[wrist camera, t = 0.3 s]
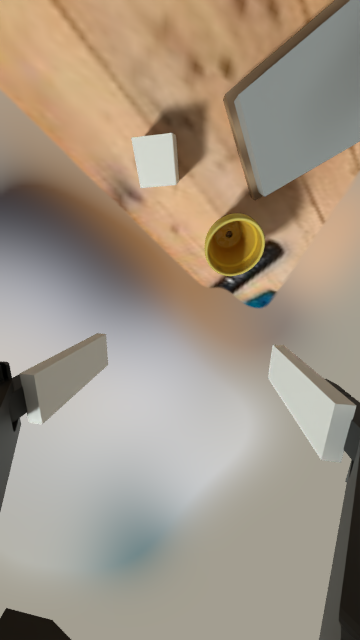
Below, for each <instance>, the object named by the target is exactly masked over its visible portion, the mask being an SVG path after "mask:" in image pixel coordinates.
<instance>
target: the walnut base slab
mask: <svg viewBox="0 0 360 640" xmlns="http://www.w3.org/2000/svg"><path fill="white" fill-rule="evenodd" d="M349 1H350V0H335V1H334V2H333V3H331V4H330V5H329V6H328V7H327V8H326V9H324V10H323V11H322V12H321V13H320V14H319V15H317V16H316V17H315V18H314V19H313V20H312V21H310V22H309V23H308V24H307V25H306V26H305V27H303V28H302V29H301V30H300V31H299V32H298V33H296V34H295V35H294V36H293V37H292V38H291V39H289V40H288V41H287V42H286V43H285V44H284V45H282V46H281V47H280V48H279V49H278V50H277V51H275V52H274V53H273V54H272V55H271V56H270V57H268V58H267V59H266V60H265V61H264V62H263V63H261V64H260V65H259V66H258V67H257V68H256V69H254V70H253V71H252V72H251V73H250V74H249V75H247V76H246V77H245V78H244V79H243V80H241V81H240V82H239V83H238V84H237V85H236V86H234V87H233V88H232V89H231V90H230V91H229V92H227V93H226V94H225V96H224V99H223V101H224V105H225V108H226V112H227V115H228V119H229V122H230V126H231V129H232V133H233V136H234V140H235V143H236V147H237V150H238V154H239V157H240V161H241V164H242V168H243V171H244V175H245V178H246V182H247V185H248V189H249V192H250V196H251V197H252V198H253V199H254V200H256V199H258V198H260V197H261V196H263V195H261V194H260V193H259V192H258V188H257V185H256V181H255V177H254V174H253V170H252V166H251V162H250V159H249V155H248V151H247V148H246V144H245V140H244V137H243V133H242V129H241V126H240V122H239V118H238V114H237V111H236V107H235V103H234V101H235V99H236V98H237V96H238V95H239V94H240V93H241V92H242V91H244V90H245V89H246V88H247V87H248V86H249V85H251V84H252V83H253V82H254V81H255V80H257V79H258V78H259V77H260V76H261V75H263V74H264V73H265V72H266V71H267V70H268V69H270V68H271V67H272V66H273V65H274V64H276V63H277V62H278V61H279V60H280V59H281V58H283V57H284V56H285V55H286V54H287V53H289V52H290V51H291V50H292V49H293V48H294V47H296V46H297V45H298V44H299V43H300V42H302V41H303V40H304V39H305V38H306V37H307V36H309V35H310V34H311V33H312V32H313V31H315V30H316V29H317V28H318V27H319V26H320V25H322V24H323V23H324V22H325V21H326V20H328V19H329V18H330V17H331V16H332V15H333V14H335V13H336V12H337V11H338V10H339V9H341V8H342V7H343V6H344V5H345V4H346V3H348V2H349Z"/></svg>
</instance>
